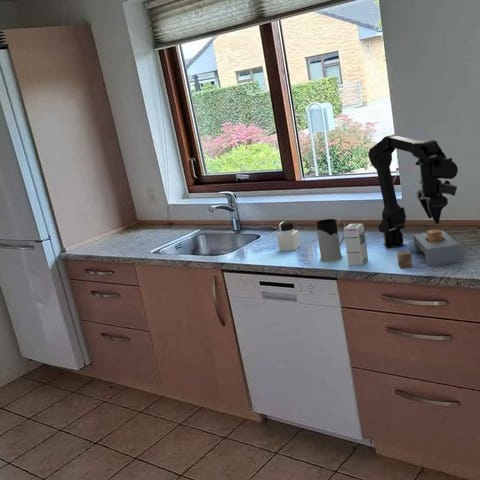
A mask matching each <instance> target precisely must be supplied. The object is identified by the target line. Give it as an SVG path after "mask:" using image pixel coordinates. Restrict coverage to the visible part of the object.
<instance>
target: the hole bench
mask: <svg viewBox="0 0 480 480" xmlns="http://www.w3.org/2000/svg"><path fill="white" fill-rule="evenodd" d="M440 231H441V232H442V241H438V242H431V243H428V235H427V232H423V233H417V234H412V235H413V236H412V237H413V246H414V251H415V252H416V253H419V252H423V253H424V259H425V264H426V265H427V266H428V267H429V266H438V265H444V263H445V264H450V263H457V262H462V258H461V246H460V243H459V242H458V241H456V240H455V239H454V238H453V237H452V236H451V235H449V234H448V233H447V232H446V231H445V230H440ZM437 264H438V265H437Z"/></svg>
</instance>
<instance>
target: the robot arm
mask: <svg viewBox="0 0 480 480" xmlns="http://www.w3.org/2000/svg"><path fill="white" fill-rule="evenodd" d="M395 150H400V151H404V152H408V153H409V154H410V153H411V154H412V156H413V157H415V158H416V159H418V160H417V161H416V162H415V165H416V166H419V171H420V180H419V184H420V185H421V189H418V190H417V191H416V198H417V200H418V201H419V203H420V205H421V206H422V209H423V210H424V212H425V214H426V216H427V218H428V219H432V220H433V222H434V223H435V225H438V224H440V221H441V215H442V210H443V209H444V208H445V207H447V205H448V204H449V202H448V201H449V200H448V197H446V196H444V195H443V194H446V195H451V196H452V197H453V196H454V197H455V195H456V193H457V188H458V186H456V185H454V184H452V183H451V182H450V180H452V179H455V178H456V177H457V174H458V172H459V170H458V169H459V168H458V165H457V163H455V162H454V161H453V158H452V157H447V156H446V154H445V153H444V151H443V149H442V148H441V146H439V144H438V141H436V140H435V139H424V140H417V139H412V138H409V137H403V136H399V135H397V134H389V135H385V136H384V137H383V138H382V139H381V140H380V141H379V142H378V143H376V144H374V145H372V147H370V149H369V150H368V155H367V156H368V158H369V162H370V164H371V166H372V167H373V168H374V169H375V171H376V174H377V178H378V183H379V188H380V192H381V196H382V201H383V205H384V206H383V210H382V212H381V217H382V220H381V222H380V223H379V224H378V227H377V228H378V230H379V233H383V240H384V242H383V245H384V246H385V248H386V249H389V248H397V247H403V246H404V236H403V233H402V231H401V230H402V229H404V228H405V224H406V220H407V215H406V210H405V208H404V206H402V207H401V205H399V204H398V200H397V196H396V189H395V186H394V181H393V177H392V172H391V171H392V170H391V164H392V161H393V153H394V152H395ZM441 179H443V181H442V180H441ZM445 179H446V180H445Z"/></svg>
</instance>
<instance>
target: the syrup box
mask: <svg viewBox="0 0 480 480" xmlns="http://www.w3.org/2000/svg"><path fill="white" fill-rule="evenodd" d="M343 235H344V243H345V249H346V255H347V263H348V265H349V266H364V265H365V264H366V263H367V262H368V261H369V257H368V256H369V255H368V251H367V250H368V249H367V242H366V236H365V235H366V233H365V227H364V223H356V222H355V223H348V225H346V227H345V228H344V227H343Z"/></svg>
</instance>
